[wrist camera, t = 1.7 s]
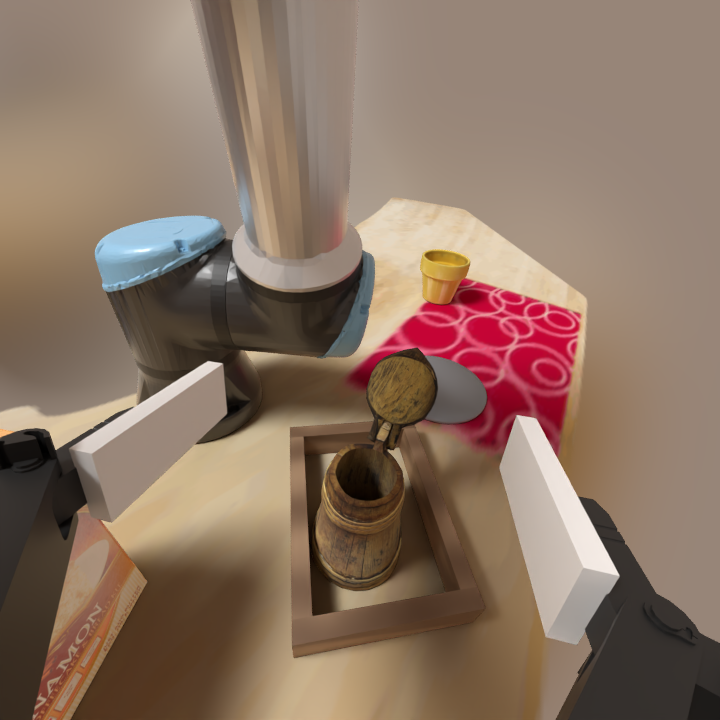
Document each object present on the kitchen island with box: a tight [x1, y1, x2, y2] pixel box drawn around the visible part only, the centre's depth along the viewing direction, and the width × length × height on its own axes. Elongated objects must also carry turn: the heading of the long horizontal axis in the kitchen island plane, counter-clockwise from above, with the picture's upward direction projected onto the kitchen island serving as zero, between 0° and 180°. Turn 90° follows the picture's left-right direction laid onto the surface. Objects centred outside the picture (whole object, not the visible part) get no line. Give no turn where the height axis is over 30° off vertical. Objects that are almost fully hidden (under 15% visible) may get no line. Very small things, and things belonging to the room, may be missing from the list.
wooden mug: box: [310, 348, 438, 591], centre depth 29 cm, size 9×14×18 cm, turn 154°
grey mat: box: [425, 356, 487, 424], centre depth 52 cm, size 15×15×1 cm
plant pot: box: [420, 249, 470, 305], centre depth 74 cm, size 10×10×10 cm
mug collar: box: [290, 422, 486, 658], centre depth 34 cm, size 20×15×4 cm
